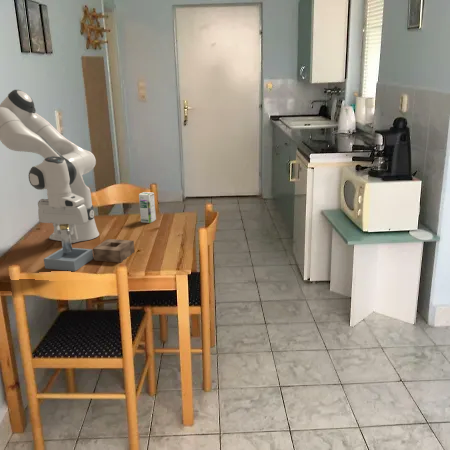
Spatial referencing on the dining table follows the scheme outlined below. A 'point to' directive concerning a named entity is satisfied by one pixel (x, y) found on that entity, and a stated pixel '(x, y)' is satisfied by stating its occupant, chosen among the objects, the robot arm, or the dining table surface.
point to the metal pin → (65, 238)
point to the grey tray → (68, 259)
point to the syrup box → (147, 207)
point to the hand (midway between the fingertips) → (65, 234)
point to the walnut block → (113, 250)
